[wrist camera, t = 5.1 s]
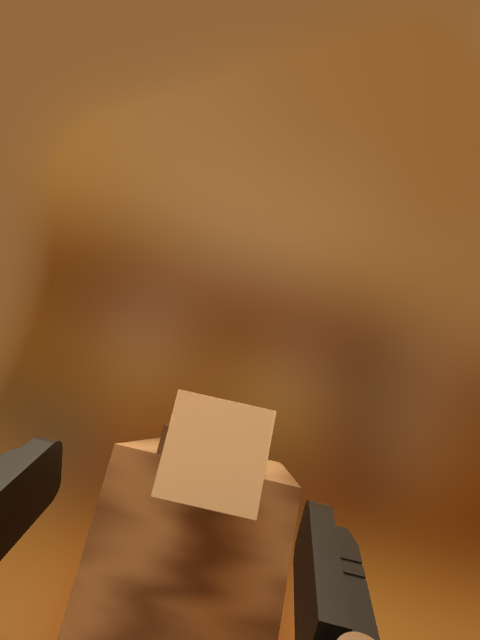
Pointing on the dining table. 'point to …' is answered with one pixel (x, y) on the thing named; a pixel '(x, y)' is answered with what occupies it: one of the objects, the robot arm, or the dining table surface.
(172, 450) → the ivory plug peg
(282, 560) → the walnut tower
